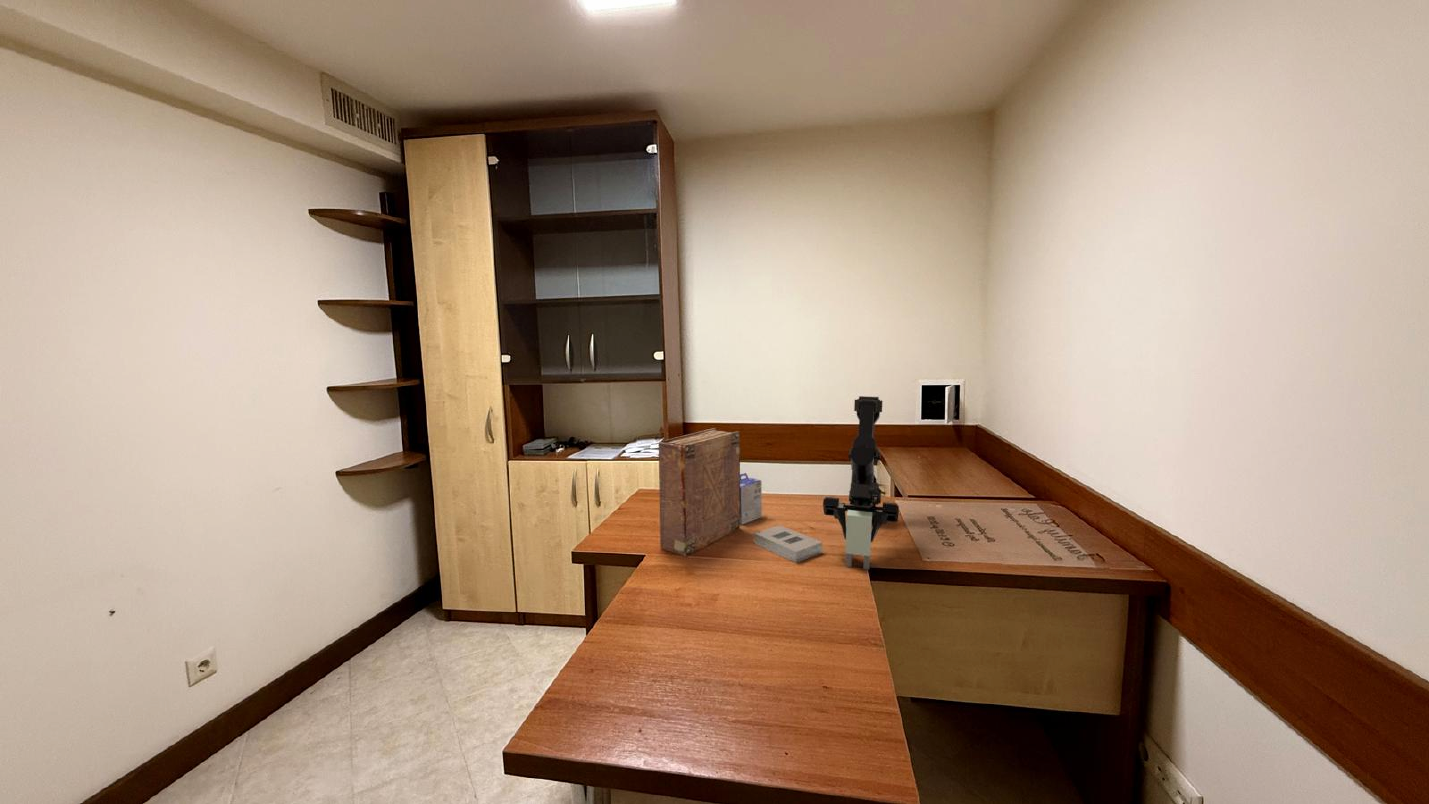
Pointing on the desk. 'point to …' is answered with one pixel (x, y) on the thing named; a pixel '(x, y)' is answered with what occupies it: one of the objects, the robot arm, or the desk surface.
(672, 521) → the book
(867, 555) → the clip
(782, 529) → the grey slotted base
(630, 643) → the desk surface
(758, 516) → the ink cartridge box
